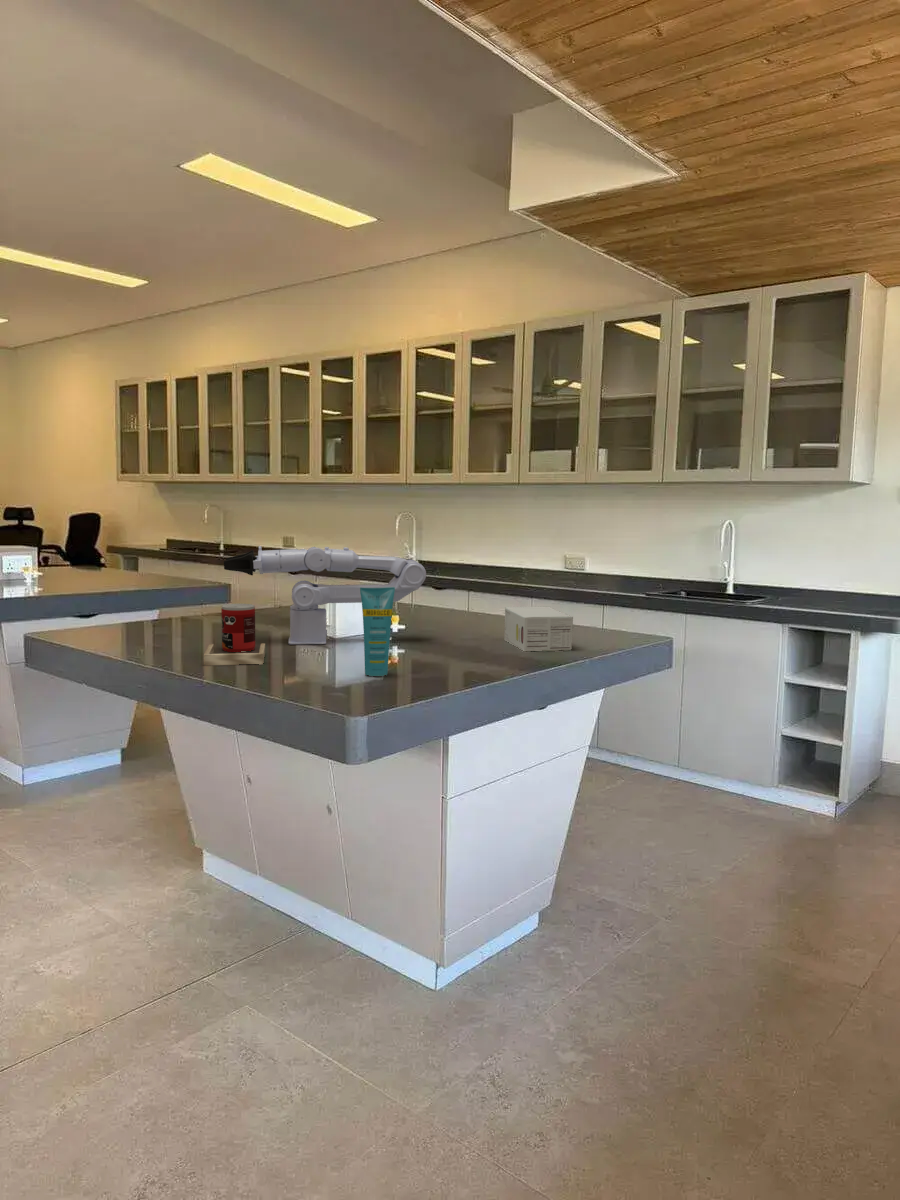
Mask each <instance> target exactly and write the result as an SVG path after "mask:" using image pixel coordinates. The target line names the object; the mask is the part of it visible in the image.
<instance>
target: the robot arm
mask: <svg viewBox="0 0 900 1200" xmlns="http://www.w3.org/2000/svg"><path fill="white" fill-rule="evenodd" d="M254 552H255V551H254V549H252V550H250V551H248V552H246V553H243V554H238V555H234V556H229V557H226V558H225V560H223V570H224V571H225V570H226V571H231V572H232V571H234V572H240V573H244V574H246V575H249V576H252V577H253V575H254V573H255V572H256V571H257V569H258V572H259V574H260V575H264V574H270V573H287V572H288V573H290V572H300V571H308V570H310V571H313V572H317V573H321V572H323V571H324V570H326V571H327V572H339V573H340V572H341V573H342V572H343V573H344V572H345V573H352V572H354V571H355V570H356V569H358V568H360V569H371V570H372V569H373V570H383V571H384V570H385V571H388V572H390V573H392V574H393V577H392V579H391V580H389V582H388V583H383V584H382V583H381V584H380V583H378V584H375V583H374V584H371V583H370V584H367V583H366V584H325V583H324V584H323V583H314V582H311V581H308V580H300V581H297V582H295V584H294V585H293V586H292V589H291V600H292V603H293V604H291V605H290V606H289V628H290V629H289V632H290V633H289V634H290V635H289V637H288V645H326V644H327V637H328V629H327V609H326V608H324V607H323V608H320V607H319V606H321V605H327V604H353V603H355V604H356V603H357V604H358V603H359V604H362V601H361V594H360V587H362V588H383V587H395V593H394V599H393V603H397V602H399V601H400V600H402V599H403V598H405V597H407V596H408V595H410V594H411V593H413V592H415V591H417V590H419V589H420V587H422V585H423V583H424V582H425V581H426V579H427V570H426V569H425V567H424V566H423V564H422V563H419V562H418V561H416V560H415V559H411V558H410V559H406V558H404V557H398V556H392V555H391V556H390V555H389V556H387V555H385V556H384V555H383V556H382V555H358V554H357V553H356V552H355V551H354V550H352V549H350V548H349V547H343V548H342V549H337V548H330V547H329V546H324V549H322V548H320V547H316V546H312V547H310V548H308V549H305V548H299V549H297V548H292V549H291V548H290V549H289V548H288V549H272V550H271V549H269V550H268V549H267V550H266V549H265V550H262V545H258V551H257V555H255V553H254Z"/></svg>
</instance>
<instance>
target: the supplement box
mask: <svg viewBox="0 0 900 1200" xmlns="http://www.w3.org/2000/svg"><path fill="white" fill-rule="evenodd" d="M573 628H574V616H572V615H569V614H567V613H564V612H563V611H560V610H558V609H555V608H553V607H551V606H507V607H504V638H503V639H504V642H506V641H507V642H506V643H508V642H509V643H508V644H510V645H511V644H512V646H513V645H514V646H516V647H518V648H519V649H521V650H523V651H542V650H561V649H572V646H573ZM514 646H513V647H514ZM516 647H515V648H516ZM518 648H517V649H518ZM519 649H518V650H519ZM521 650H520V651H521ZM523 651H522V652H523Z"/></svg>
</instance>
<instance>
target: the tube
mask: <svg viewBox="0 0 900 1200" xmlns="http://www.w3.org/2000/svg"><path fill="white" fill-rule="evenodd" d="M394 593H395V587H383V588H362V587H360V594H361V601H362V603H361V609H362V611H361V612H362V625H363V647H364V648H363V650H364V655H363V656H364V674H366V675H365V676H367V675H369V676H368V677H373V676H382V677H385V676H384V675H386V676H388V672H389V671H388V669H389V658H390V657H389V655H390V641H391V629H392V618H393V617H392V616H393V606H394V602H393V599H394Z"/></svg>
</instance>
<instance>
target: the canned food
mask: <svg viewBox="0 0 900 1200" xmlns="http://www.w3.org/2000/svg"><path fill="white" fill-rule="evenodd" d="M220 615H221V647H222V648H221V649H222V650H223V651H224V652H226V651H227V652H226V653H233V652H240V653H242V652H241V651H250V652H252V651H251V650H253V651H254V650H255V648H256V606H255V604H252V603H251V604H250V603H228V604H223V605H221V614H220Z"/></svg>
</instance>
